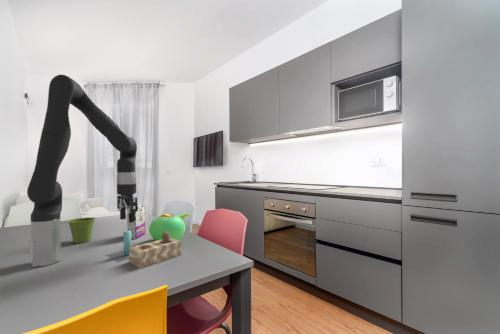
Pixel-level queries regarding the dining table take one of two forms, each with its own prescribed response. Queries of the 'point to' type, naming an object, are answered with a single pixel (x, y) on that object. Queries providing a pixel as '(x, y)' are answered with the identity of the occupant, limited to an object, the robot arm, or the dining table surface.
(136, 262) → the hole block
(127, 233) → the teal peg
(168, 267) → the dining table surface
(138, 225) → the candy bar box
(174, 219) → the toy bird
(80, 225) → the plant pot
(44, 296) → the dining table surface
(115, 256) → the mat
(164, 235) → the walnut peg
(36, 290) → the dining table surface
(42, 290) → the dining table surface
